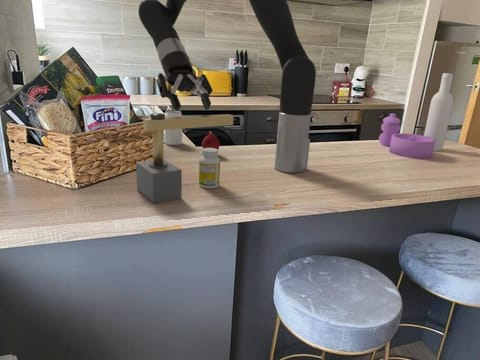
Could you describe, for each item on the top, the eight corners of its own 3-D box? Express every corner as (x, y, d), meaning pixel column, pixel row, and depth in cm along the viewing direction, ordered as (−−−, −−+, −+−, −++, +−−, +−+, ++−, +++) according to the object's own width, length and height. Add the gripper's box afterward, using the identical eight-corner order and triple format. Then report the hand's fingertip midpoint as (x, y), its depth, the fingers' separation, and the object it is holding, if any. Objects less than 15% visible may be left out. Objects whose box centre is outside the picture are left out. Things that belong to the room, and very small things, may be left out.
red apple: (222, 154, 130) (223, 131, 127) (213, 158, 125) (214, 134, 122) (207, 152, 132) (207, 129, 129) (198, 155, 127) (199, 132, 124)
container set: (441, 158, 142) (449, 123, 138) (407, 159, 138) (414, 123, 134) (396, 143, 165) (402, 112, 161) (366, 143, 160) (371, 112, 156)
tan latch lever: (226, 154, 102) (228, 109, 98) (232, 157, 99) (235, 111, 95) (143, 164, 89) (142, 113, 85) (148, 168, 86) (147, 116, 83)
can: (184, 142, 144) (184, 110, 140) (179, 146, 138) (180, 113, 134) (167, 141, 145) (167, 109, 141) (162, 144, 138) (162, 111, 135)
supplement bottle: (209, 190, 96) (210, 153, 93) (194, 185, 99) (194, 149, 96) (223, 185, 100) (225, 150, 97) (208, 180, 103) (210, 146, 100)
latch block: (163, 185, 97) (163, 158, 95) (181, 198, 90) (181, 169, 87) (137, 189, 93) (136, 161, 91) (153, 203, 86) (152, 172, 83)
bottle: (426, 145, 162) (442, 72, 152) (445, 150, 156) (463, 74, 147) (417, 148, 157) (433, 72, 147) (436, 152, 151) (454, 74, 142)
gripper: (153, 48, 97) (172, 99, 91) (202, 51, 105) (223, 98, 99) (145, 68, 102) (163, 118, 97) (192, 70, 110) (211, 115, 105)
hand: (193, 108), depth 98 cm, fingers open, 8 cm apart
